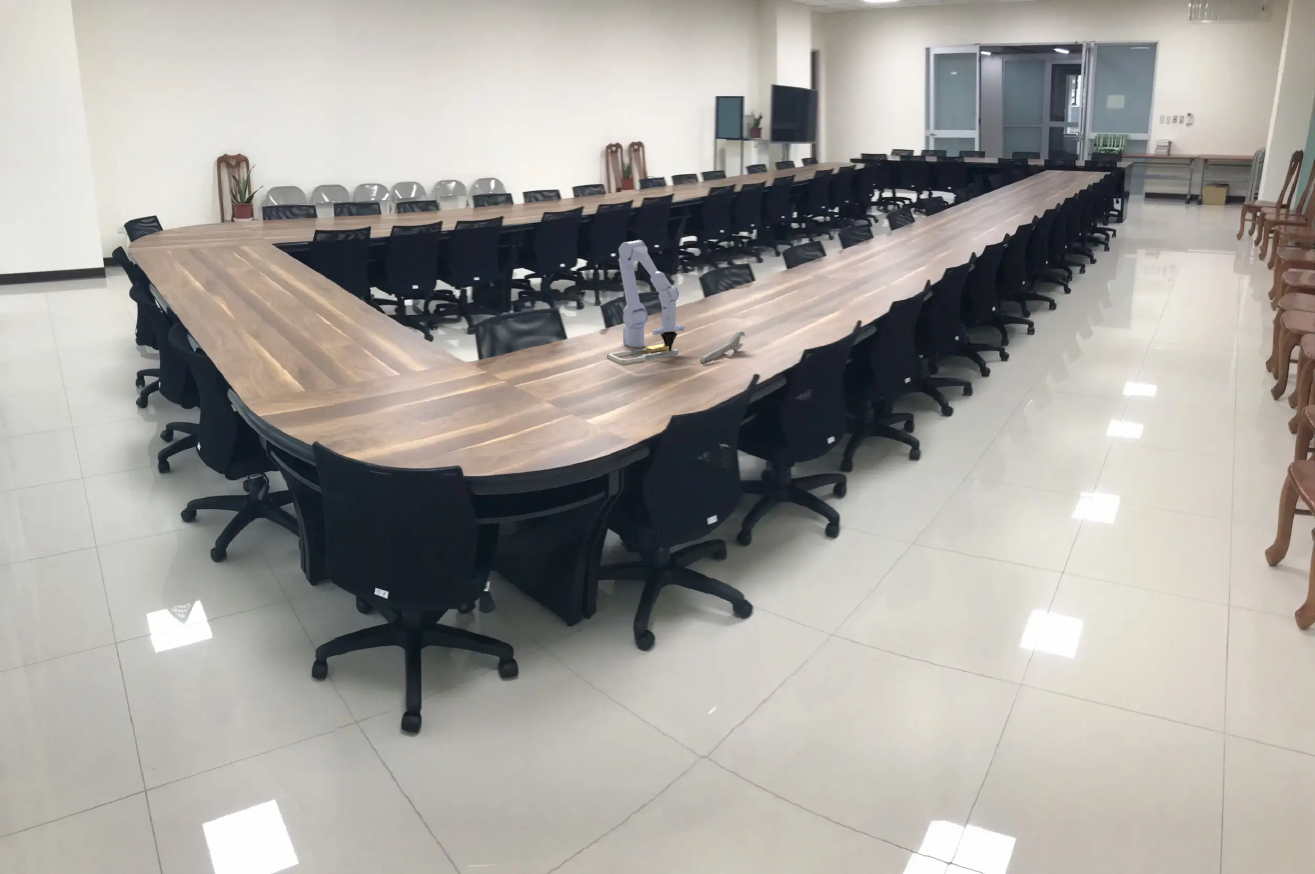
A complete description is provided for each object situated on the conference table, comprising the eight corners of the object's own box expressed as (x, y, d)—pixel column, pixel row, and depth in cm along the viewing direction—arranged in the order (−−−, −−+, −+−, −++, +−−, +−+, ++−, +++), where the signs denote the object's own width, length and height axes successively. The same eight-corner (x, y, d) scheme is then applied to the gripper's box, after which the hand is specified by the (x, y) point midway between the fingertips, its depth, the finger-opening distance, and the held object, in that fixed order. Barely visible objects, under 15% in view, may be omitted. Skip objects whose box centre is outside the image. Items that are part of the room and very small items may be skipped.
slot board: (629, 356, 370) (629, 350, 370) (664, 350, 379) (664, 344, 378) (645, 362, 361) (645, 356, 360) (680, 356, 370) (680, 350, 369)
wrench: (700, 370, 362) (742, 347, 382) (704, 371, 360) (745, 348, 381) (699, 351, 358) (741, 329, 379) (703, 352, 357) (745, 329, 378)
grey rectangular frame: (607, 360, 365) (607, 354, 364) (629, 356, 370) (629, 350, 370) (622, 366, 356) (622, 360, 355) (645, 362, 361) (645, 356, 360)
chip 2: (655, 352, 372) (655, 345, 371) (663, 351, 374) (663, 344, 373) (660, 354, 369) (660, 347, 368) (668, 353, 371) (668, 346, 370)
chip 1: (646, 354, 370) (646, 346, 369) (654, 352, 372) (654, 345, 371) (651, 356, 367) (651, 349, 366) (659, 354, 369) (659, 347, 368)
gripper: (659, 321, 361) (659, 354, 366) (689, 316, 369) (688, 349, 374) (649, 318, 367) (649, 350, 372) (679, 313, 374) (678, 345, 379)
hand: (668, 349), depth 373 cm, fingers closed
